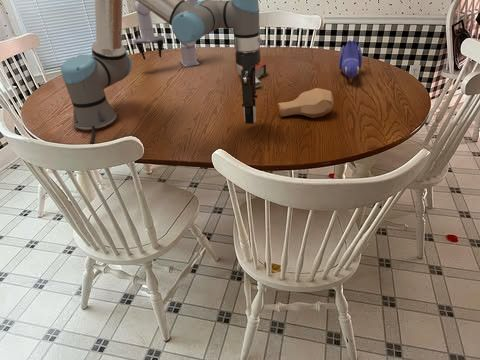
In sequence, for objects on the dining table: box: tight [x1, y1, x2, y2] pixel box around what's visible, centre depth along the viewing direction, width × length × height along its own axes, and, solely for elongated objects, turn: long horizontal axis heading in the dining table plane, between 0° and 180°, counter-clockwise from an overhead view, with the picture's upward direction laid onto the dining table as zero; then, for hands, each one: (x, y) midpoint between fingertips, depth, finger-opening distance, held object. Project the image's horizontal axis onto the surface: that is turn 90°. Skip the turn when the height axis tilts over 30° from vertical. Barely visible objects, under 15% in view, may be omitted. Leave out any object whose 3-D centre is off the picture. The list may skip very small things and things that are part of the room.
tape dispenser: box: [236, 60, 267, 89], centre depth 159 cm, size 18×5×20 cm
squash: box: [277, 87, 335, 119], centre depth 127 cm, size 11×20×9 cm, turn 92°
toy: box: [338, 39, 363, 84], centre depth 153 cm, size 10×17×25 cm
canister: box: [243, 105, 257, 123], centre depth 120 cm, size 4×4×5 cm
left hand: (250, 119), depth 121 cm, fingers closed on canister, 4 cm apart
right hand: (152, 58), depth 173 cm, fingers open, 7 cm apart
